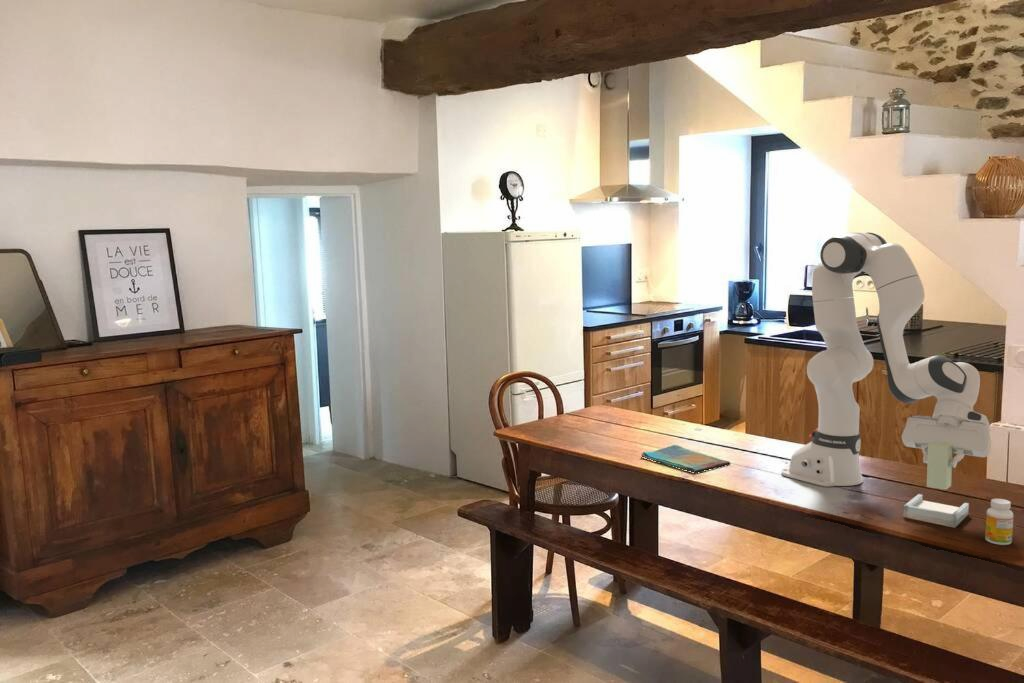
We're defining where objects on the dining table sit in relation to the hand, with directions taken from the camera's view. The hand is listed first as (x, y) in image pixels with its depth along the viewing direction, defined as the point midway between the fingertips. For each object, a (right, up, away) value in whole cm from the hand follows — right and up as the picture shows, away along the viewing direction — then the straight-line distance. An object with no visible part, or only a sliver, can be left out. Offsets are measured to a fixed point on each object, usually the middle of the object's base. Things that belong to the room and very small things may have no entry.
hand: (938, 464), depth 208 cm
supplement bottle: (+6, -16, -15) cm, 23 cm away
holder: (+1, -13, +2) cm, 14 cm away
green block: (+1, -6, +1) cm, 6 cm away
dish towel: (-52, -8, +56) cm, 77 cm away
